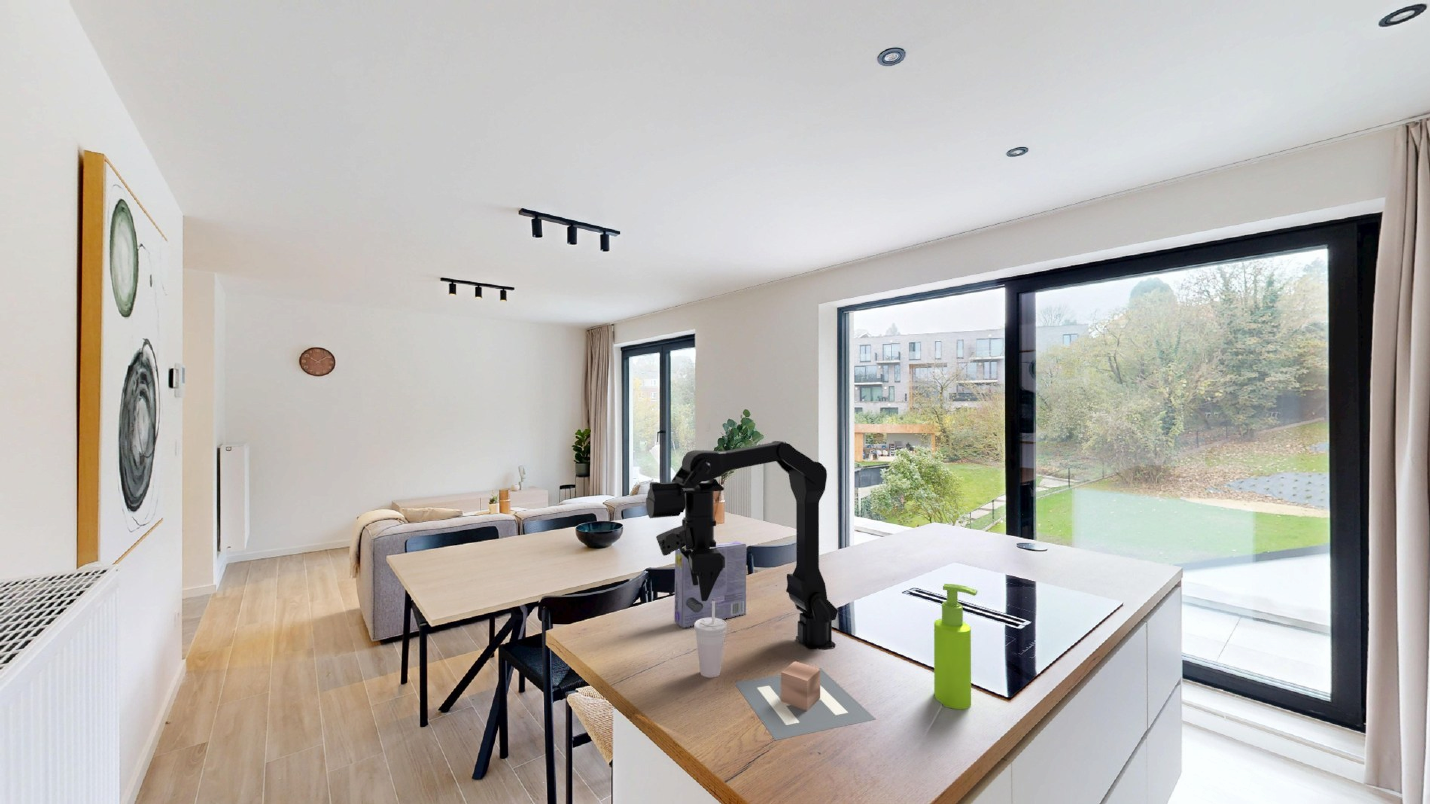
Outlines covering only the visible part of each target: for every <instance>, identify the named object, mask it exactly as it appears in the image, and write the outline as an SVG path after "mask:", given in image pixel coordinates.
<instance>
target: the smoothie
mask: <svg viewBox="0 0 1430 804" xmlns="http://www.w3.org/2000/svg"><path fill="white" fill-rule="evenodd" d="M693 630H694V632H695V636H696V637H695V638H696V646H697V653H698V662H699V670H700V671H699V672H700V675H701V676H703V677H704V678H715V677H719V675H720V674H721V667H722V661H723V654H724V653H723V652H724V643H725V636H726V632H727V630H728V623H727V622H726V621H725V619H723V620H722V619H719V618H715V601H712V618H702V619H699V620H697V621H696V622H695V623H694V626H693Z"/></svg>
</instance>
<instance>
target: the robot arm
mask: <svg viewBox="0 0 1430 804" xmlns="http://www.w3.org/2000/svg"><path fill="white" fill-rule="evenodd" d="M774 462H776V463H777V464H778V465H779V467H780V468H781V469H782V470H783V471H784V472H786V473H787V474H788V479H789V480H788V481H789V485H790V486H789V487H790V489H791V491H792V494H793V496H794V499H795V502H796V503H795V504H796V505H795V507H796V508H795V509H796V511H795V512H796V515H795V517H796V519H795V521H796V523H795V525H796V528H795V529H796V532H795V533H796V534H795V535H796V536H795V537H796V538H795V539H796V541H795V542H796V544H795V545H796V550H795V551H796V559H795V560H796V561H795V563H796V566H795V568H794V570H793V572H792V573H786V582H787V585H786V589H785V591H786V593H788V597H789V600H790V601H792V602H793V604H794V606H795V610H798V611H800V612H799V617H798V618H799V620H798V621H797V635H796V636H795V639H796V640H797V641H798V642H799V643H800V644H801V645H803V646H804V647H805V648H806V649H808V650H810V651H811V650H812V651H813V650H817V649H818V650H823V649H829V648H835V647H836V646H837V645H836V643H835V642H834V641H832V637H833V636H832V633H833V632H832V630H833V629H832V628H833V627H832V623H833V621H835V620H836V619H837V615H838V612H839V609H838V608H837V607H836V606H835V605H834V604H833V603H832V602H831V601H830V600H829V599H828V594H827V586H826V582H825V580H824V577H823V575H822V572H821V570H820V509H819V508H820V500H821V499H822V497H823V495H824V493H825V491H826V487H827V478H828V472H827V468H826V467H825V466H824V465H823V464H822V463H821V462H819V461H813V459H812V458H810V457H809V456H807V455H805V454H804V453H802V452H801V451H799V450H797V449H796V448H795V447H794V446H792V445H791V444H790V443H789V442H787V441H780V440H774V441H772V442H767V443H762V444H755V445H752V446H746V447H740V448H735V449H728V450H704V449H703V450H700V449H699V450H698V449H697V450H696V449H693V450H690V451H688V452H686V454H685V455H684V456H683V458H682V461H681V466H680V468H679V469H678V470H677V472H676V473H675V475H674V477H673V478H672V479H671V481H669V482H667V481H666V482H665V481H664V482H658V481H651V482H649V488H648V491H647V494H646V495H647V496H646V498H645V506H646V512H647V516H648V518H649V519H656V518H668V517H669V518H670V517H679V516H680V515H681V513H684V517H683V519H682V520H681V525H679V526H677V527H674V528H670V529H669V530H666V531H664V532H662V533H660V534H657V535H656V536H655V539H656V541H657V544H658V547H659V549H660V551H661V554H662V556H664V557H665V556H668V555H671V553H673V552H675V550H678V549H679V550H680V552H681V553H682V554H683V555H684V556H685V557H686V558H687V561H688V565H689V569H690V574H691V578H692V583H693V585H694V586H695V585H698V584H699V590H700V596H701V600H702V601H707V600H708V598H709V595H710V593H711V591H712V589H713V586H714V584H715V582H716V580H717V578H718V576H719V574H720V572H721V571H722V570H723V568H725V557H724V556H723V555H722V554H721V552H720V551H718V550H717V549H716V548H713V549H710V547H716V544H717V541H716V540H715V535H714V534H715V527H717V520H716V519H715V517H714V515H715V514H714V512H715V508H714V507H715V502H714V501H715V500H714V499H715V496H714V493H715V492H723V491H724V490H725V487H724V486H723V485H721V484H720V483H719V481H718V480H717V478H719V477H722V476H723V475H725V474H727V473H728V472H731V471H733V470H737V469H742V468H748V467H755V466H759V465H765V464H768V463H774Z"/></svg>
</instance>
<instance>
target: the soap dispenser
mask: <svg viewBox="0 0 1430 804" xmlns="http://www.w3.org/2000/svg"><path fill="white" fill-rule="evenodd" d="M942 590H944V591H946V600H945V601H943V602H942V603H941V618H938V619H935V621H934V622H933V627H934V629H933V633H934V634H933V639H934V641H933V643H934V644H933V645H934V646H933V649H934V650H933V651H934V653H933V656H934V658H933V659H934V661H933V666H934V668H933V669H934V680H933V682H934V683H933V684H934V691H933V692H934V698H935V699H936V700H937V701H938V702H940V703H941V706H944V707H946V708H950V709H952V710H953V709H954V710H965V709H969V708H970V707H971V706H972V628H971V626H970V625H969V624H968V623H966V622H964V609H963V608H964V607H963V605H962V604H961V603H959V602H958V598H959V597H958V594H959V593H964V594H968V595H970V596H974V597H975V596H976V595H977V594H978V592H979V591H978V590H976V588H975V589H974V588H973V587H969V586H967V585H966V586H965V585H961V584H954V583H953V584H952V583H944V584H943V586H942Z"/></svg>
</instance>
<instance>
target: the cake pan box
mask: <svg viewBox="0 0 1430 804" xmlns="http://www.w3.org/2000/svg"><path fill="white" fill-rule="evenodd" d="M747 547H748V546H747V543H745V542H740V541H731V542H722V543H716V547H710V549H713V548H716V549H717V550H718V551H720V552H721V554H722V555H723V556H724V557H725V568H723V570H722V571H721V572H720V574H719V576H718V578H717V580H716V582H715V584H714V586H713V589H712V591H711V593H710V595H709V598H708V600H707V601H702V600H701V596H700V590H699V584H698V585H695V586H694V585H693V583H692V578H691V574H690V569H689V565H688V561H687V558H686V557H685V556H684V555H683V554H682V553H681V552H680V550H679V549H678V550H675V551H674V555H675V559H674V618H673V619H674V620H673V621H674V623H676V624H677V625H678V626H679V627H680V628H681V629H686V628H685V627H687V628H691V627H694V626H693V625H694V623H695V622H696V621H697V620H699V619H702V618H712V601H715V618H719V619H722V620H727V619H731V618H735V616H736V617H739V615H740V616H745V615H746V614H747ZM726 618H727V619H726ZM690 626H691V627H690Z"/></svg>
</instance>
